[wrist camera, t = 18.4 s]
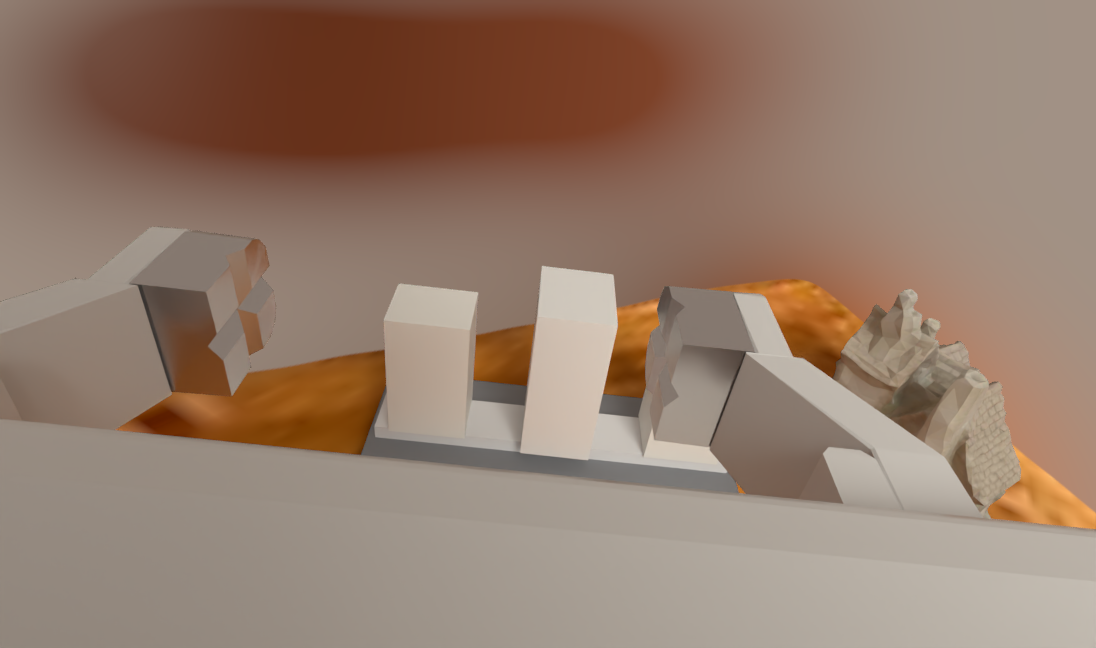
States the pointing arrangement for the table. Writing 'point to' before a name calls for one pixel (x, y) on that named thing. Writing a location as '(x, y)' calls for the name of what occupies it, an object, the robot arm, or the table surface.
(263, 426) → the table surface
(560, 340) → the block
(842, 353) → the stone castle model
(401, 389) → the white u-shaped stand
